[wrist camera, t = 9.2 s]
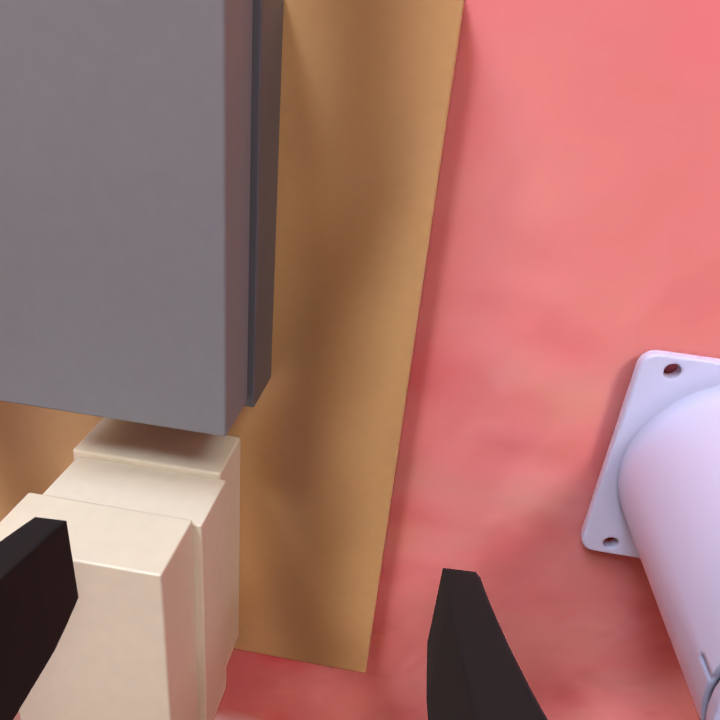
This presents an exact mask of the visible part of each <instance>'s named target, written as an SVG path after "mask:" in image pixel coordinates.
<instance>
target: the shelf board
mask: <svg viewBox="0 0 720 720" xmlns="http://www.w3.org/2000/svg"><path fill="white" fill-rule="evenodd" d="M464 2H465V0H284V8H283V37H282V67H281V96H280V126H279V155H278V185H277V214H276V244H275V273H274V303H273V332H272V362H271V378H270V380H269V382H268V383H267V385H266V387H265V389H264V390H263V392H262V394H261V396H260V397H259V399H258V401H257V403H256V404H255V406H254V407H247V406H244V407H243V408H242V410H241V412H240V413H239V415H238V417H237V418H236V420H235V422H234V423H233V425H232V427H231V428H230V430H229V432H228V433H227V435H228V436H235V437H239V438H240V440H241V448H240V552H239V635H238V638H237V641H236V643H235V646H234V649H238V650H243V651H249V652H254V653H259V654H265V655H270V656H276V657H281V658H286V659H292V660H297V661H302V662H308V663H313V664H318V665H324V666H329V667H335V668H340V669H345V670H351V671H356V672H361V673H365V672H366V669H367V662H368V656H369V649H370V642H371V635H372V628H373V621H374V615H375V608H376V601H377V594H378V587H379V581H380V574H381V567H382V560H383V553H384V547H385V540H386V533H387V526H388V519H389V513H390V506H391V499H392V492H393V485H394V478H395V472H396V465H397V458H398V451H399V444H400V438H401V431H402V424H403V417H404V410H405V404H406V397H407V390H408V383H409V376H410V369H411V363H412V356H413V349H414V342H415V335H416V329H417V322H418V315H419V308H420V301H421V295H422V288H423V281H424V274H425V267H426V261H427V254H428V247H429V240H430V233H431V226H432V220H433V213H434V206H435V199H436V192H437V186H438V179H439V172H440V165H441V158H442V152H443V145H444V138H445V131H446V124H447V117H448V111H449V104H450V97H451V90H452V83H453V77H454V70H455V63H456V56H457V49H458V43H459V36H460V29H461V22H462V15H463V9H464ZM103 418H104V417H99V416H92V415H86V414H80V413H73V412H67V411H61V410H55V409H48V408H42V407H36V406H29V405H23V404H17V403H10V402H4V401H0V522H1V521H2V520H3V519H4V518H5V517H6V516H7V515H8V514H9V513H10V512H11V511H12V510H13V508H14V507H15V506H16V505H17V504H18V503H19V502H20V501H21V500H22V499H23V498H24V497H25V496H26V495H27V494H28V493H36V494H43V493H44V492H45V491H46V490H47V489H48V488H49V487H50V486H51V485H52V484H53V483H54V482H55V481H56V479H57V478H58V477H59V476H60V475H61V474H62V473H63V472H64V471H65V470H66V469H67V468H68V467H69V466H70V465H71V464H72V462H73V461H74V454H73V450H74V448H75V447H76V446H77V445H78V444H79V443H80V442H81V441H82V440H83V439H84V438H85V437H86V436H87V435H88V434H89V433H90V432H91V431H92V430H93V429H94V428H95V427H96V426H97V425H98V423H99V422H100V421H101V420H102V419H103Z"/></svg>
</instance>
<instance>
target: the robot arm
mask: <svg viewBox="0 0 720 720" xmlns="http://www.w3.org/2000/svg"><path fill="white" fill-rule="evenodd" d="M670 364H677V368H676V370H675V371H673V372H671V373H664V369H665V367H666V366H668V365H670ZM612 537H613V538H615V539H614V540H612V541H604V540H605V539H607V538H612ZM581 540H582V543H583V545H584V546H585V547H586V548H587V549H590V550H594V551H600V552H606V553H612V554H618V555H624V556H630V557H636V558H640V559H641V562H642V565H643V567H644V570H645V573H646V575H647V578H648V581H649V584H650V586H651V589H652V592H653V594H654V597H655V600H656V602H657V605H658V608H659V611H660V613H661V616H662V619H663V621H664V624H665V627H666V630H667V632H668V635H669V638H670V640H671V643H672V646H673V649H674V651H675V654H676V657H677V659H678V662H679V665H680V668H681V670H682V673H683V676H684V678H685V681H686V684H687V687H688V689H689V692H690V695H691V697H692V700H693V703H694V706H695V708H696V711H697V714H698V716H699V719H700V720H720V359H719V358H712V357H704V356H697V355H690V354H683V353H676V352H669V351H661V350H650V351H647V352H645V353H643V354H642V355H641V356H640V357H639V359H638V360H637V362H636V365H635V368H634V371H633V374H632V377H631V380H630V383H629V386H628V389H627V393H626V396H625V399H624V402H623V405H622V408H621V411H620V414H619V417H618V420H617V423H616V426H615V429H614V432H613V435H612V438H611V441H610V444H609V447H608V450H607V453H606V457H605V460H604V463H603V466H602V469H601V472H600V475H599V478H598V481H597V484H596V487H595V490H594V493H593V496H592V499H591V502H590V505H589V508H588V511H587V514H586V517H585V521H584V524H583V527H582V530H581ZM78 598H79V597H78V591H77V584H76V578H75V572H74V565H73V559H72V553H71V547H70V540H69V534H68V528H67V521H64V520H56V519H48V518H40V517H34V518H33V519H31V520H30V521H29V522H27V523H26V524H24V525H23V526H21V527H20V528H18V529H17V530H16V531H14V532H13V533H11V534H10V535H9V536H7V537H6V538H4V539H3V540H2V541H0V720H13V719H14V717H15V715H16V714H17V712H18V711H19V709H20V708H21V706H22V704H23V703H24V701H25V699H26V698H27V696H28V694H29V693H30V691H31V689H32V688H33V686H34V684H35V683H36V681H37V679H38V678H39V676H40V674H41V673H42V671H43V669H44V668H45V666H46V664H47V663H48V661H49V659H50V658H51V656H52V654H53V652H54V651H55V649H56V647H57V644H58V642H59V640H60V638H61V636H62V634H63V632H64V630H65V628H66V625H67V623H68V621H69V619H70V616H71V614H72V612H73V609H74V607H75V605H76V603H77V600H78ZM427 711H428V720H547V718H546V716H545V714H544V713H543V711H542V709H541V707H540V706H539V704H538V702H537V700H536V698H535V696H534V694H533V693H532V691H531V689H530V687H529V685H528V683H527V681H526V679H525V677H524V675H523V673H522V671H521V669H520V667H519V665H518V663H517V662H516V660H515V658H514V656H513V654H512V652H511V649H510V647H509V645H508V643H507V641H506V639H505V637H504V634H503V632H502V630H501V628H500V626H499V623H498V621H497V619H496V617H495V614H494V612H493V609H492V607H491V605H490V602H489V600H488V597H487V595H486V592H485V589H484V587H483V584H482V581H481V578H480V577H479V576H478V574H477V573H476V572H470V571H462V570H454V569H446V568H443V571H442V576H441V581H440V585H439V590H438V595H437V600H436V605H435V609H434V614H433V619H432V624H431V629H430V633H429V638H428V646H427Z"/></svg>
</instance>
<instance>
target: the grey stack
mask: <svg viewBox="0 0 720 720" xmlns="http://www.w3.org/2000/svg"><path fill="white" fill-rule="evenodd" d="M283 8H284V0H0V401H4V402H10V403H17V404H23V405H29V406H36V407H42V408H48V409H55V410H61V411H67V412H73V413H80V414H86V415H92V416H99V417H105V418H111V419H118V420H124V421H130V422H136V423H143V424H149V425H155V426H162V427H168V428H174V429H181V430H187V431H193V432H200V433H206V434H212V435H218V436H226V435H227V433H228V432H229V430H230V428H231V427H232V425H233V423H234V422H235V420H236V418H237V417H238V415H239V413H240V412H241V410H242V408H243V407H244V406H247V407H254V406H255V404H256V403H257V401H258V399H259V397H260V396H261V394H262V392H263V390H264V389H265V387H266V385H267V383H268V382H269V380H270V378H271V362H272V332H273V303H274V273H275V244H276V214H277V185H278V155H279V126H280V96H281V67H282V37H283Z"/></svg>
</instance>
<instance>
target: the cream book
mask: <svg viewBox="0 0 720 720" xmlns="http://www.w3.org/2000/svg"><path fill="white" fill-rule="evenodd" d="M34 517H40V518H48V519H56V520H64V521H67V528H68V534H69V540H70V547H71V553H72V559H73V565H74V572H75V578H76V584H77V591H78V597H79V598H78V600H77V603H76V605H75V607H74V609H73V612H72V614H71V616H70V619H69V621H68V623H67V625H66V628H65V630H64V632H63V634H62V636H61V638H60V640H59V642H58V644H57V647H56V649H55V651H54V652H53V654H52V656H51V658H50V659H49V661H48V663H47V664H46V666H45V668H44V669H43V671H42V673H41V674H40V676H39V678H38V679H37V681H36V683H35V684H34V686H33V688H32V689H31V691H30V693H29V694H28V696H27V698H26V699H25V701H24V703H23V704H22V706H21V708H20V709H19V713H20V718H21V720H199V705H198V676H197V647H196V618H195V589H194V560H193V531H192V520H188V519H183V518H177V517H171V516H165V515H159V514H153V513H147V512H141V511H136V510H130V509H124V508H118V507H112V506H106V505H100V504H95V503H89V502H83V501H77V500H71V499H65V498H59V497H53V496H48V495H42V494H36V493H28V494H27V495H26V496H25V497H24V498H23V499H22V500H21V501H20V502H19V503H18V504H17V505H16V506H15V507H14V508H13V510H12V511H11V512H10V513H9V514H8V515H7V516H6V517H5V518H4V519H3V520H2V521H1V522H0V541H2V540H3V539H4V538H6V537H7V536H9V535H10V534H11V533H13V532H14V531H16V530H17V529H18V528H20V527H21V526H23V525H24V524H26V523H27V522H29V521H30V520H31V519H33V518H34Z"/></svg>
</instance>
